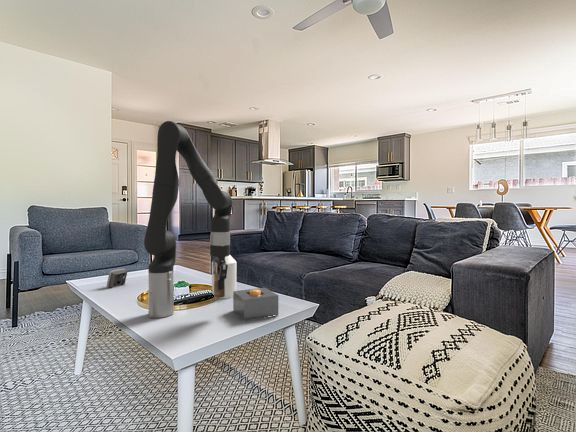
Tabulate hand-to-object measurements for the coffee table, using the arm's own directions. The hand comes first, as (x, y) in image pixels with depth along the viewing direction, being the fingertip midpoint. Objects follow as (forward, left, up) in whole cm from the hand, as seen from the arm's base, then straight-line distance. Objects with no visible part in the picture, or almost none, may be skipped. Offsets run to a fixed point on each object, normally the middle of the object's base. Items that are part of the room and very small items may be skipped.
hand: (219, 287), depth 125 cm
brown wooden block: (0, 0, -3) cm, 3 cm away
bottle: (+10, +31, -12) cm, 35 cm away
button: (+14, -1, -9) cm, 17 cm away
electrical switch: (-37, +75, -12) cm, 84 cm away
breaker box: (+14, -1, -12) cm, 18 cm away
